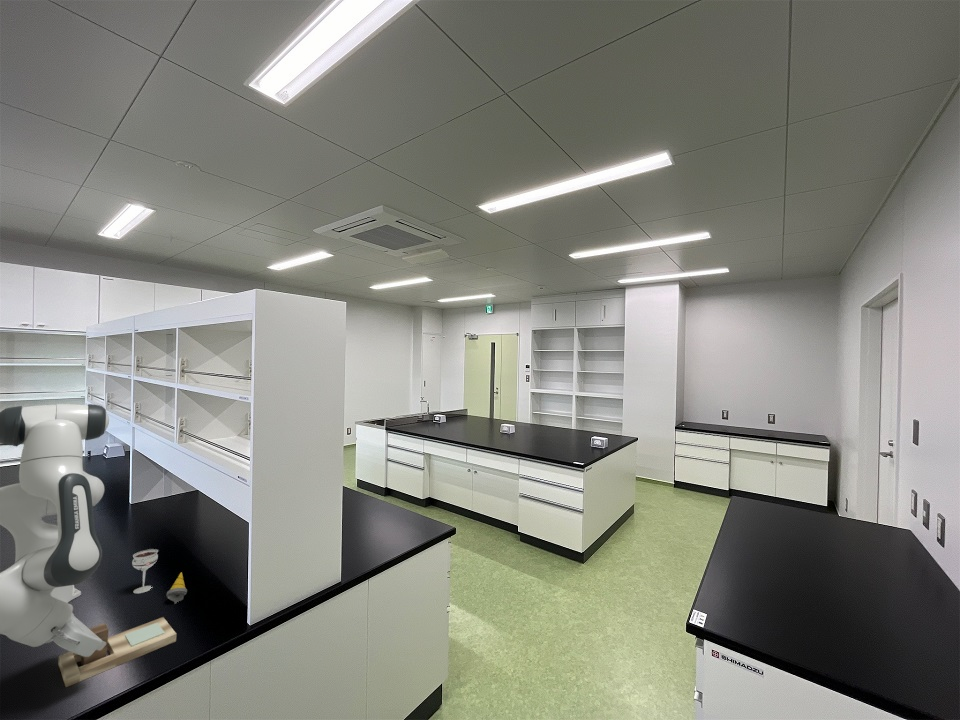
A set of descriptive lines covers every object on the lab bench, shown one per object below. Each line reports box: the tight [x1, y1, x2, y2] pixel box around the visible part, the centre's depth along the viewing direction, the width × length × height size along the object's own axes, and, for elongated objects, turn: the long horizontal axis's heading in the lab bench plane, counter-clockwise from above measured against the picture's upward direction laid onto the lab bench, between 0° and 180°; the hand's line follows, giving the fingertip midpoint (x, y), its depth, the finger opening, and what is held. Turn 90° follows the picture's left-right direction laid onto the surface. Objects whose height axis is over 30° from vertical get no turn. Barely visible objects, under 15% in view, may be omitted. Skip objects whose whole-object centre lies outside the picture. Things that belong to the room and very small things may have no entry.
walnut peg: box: [80, 622, 109, 666], centre depth 99 cm, size 4×4×8 cm
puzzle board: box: [57, 616, 177, 688], centre depth 103 cm, size 12×21×2 cm, turn 143°
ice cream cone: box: [165, 571, 188, 605], centre depth 128 cm, size 5×5×10 cm
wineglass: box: [131, 548, 159, 594], centre depth 133 cm, size 7×7×12 cm
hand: (98, 642), depth 100 cm, fingers closed on walnut peg, 4 cm apart
